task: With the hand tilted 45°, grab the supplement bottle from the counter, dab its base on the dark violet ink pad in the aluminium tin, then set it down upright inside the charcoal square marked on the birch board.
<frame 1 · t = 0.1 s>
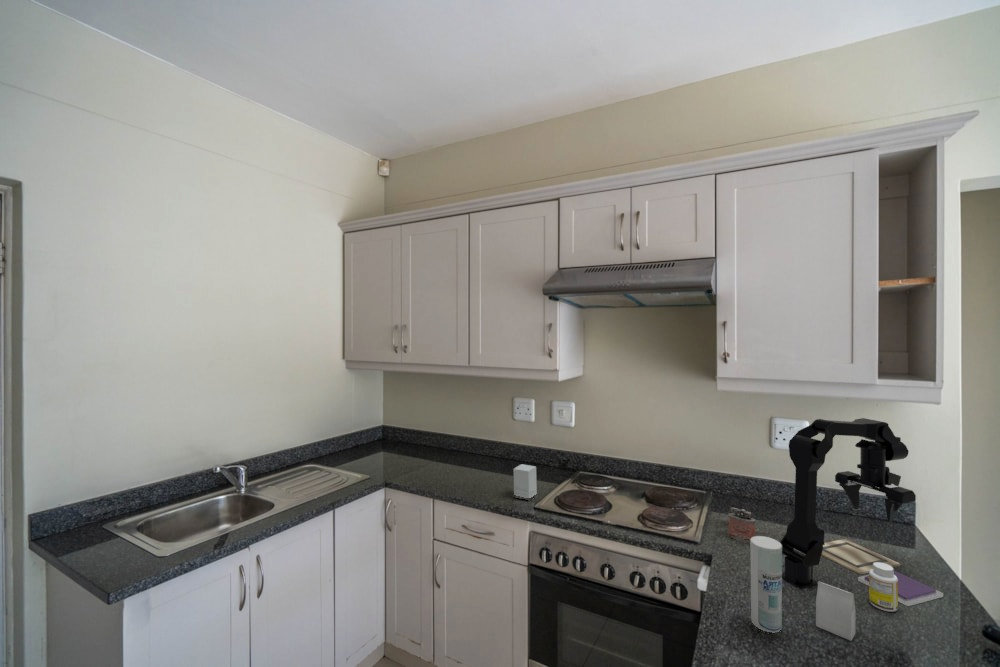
hand: (872, 514, 133), 15 cm above the worktop, tool pointing down, fingers open, 9 cm apart
lighter: (741, 539, 150), on the worktop
supplement box: (525, 497, 189), on the worktop
spray can: (766, 626, 108), on the worktop
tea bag: (835, 630, 106), on the worktop
supplement bottle: (883, 606, 114), on the worktop
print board: (851, 556, 138), on the worktop
ink pad: (899, 588, 121), on the worktop
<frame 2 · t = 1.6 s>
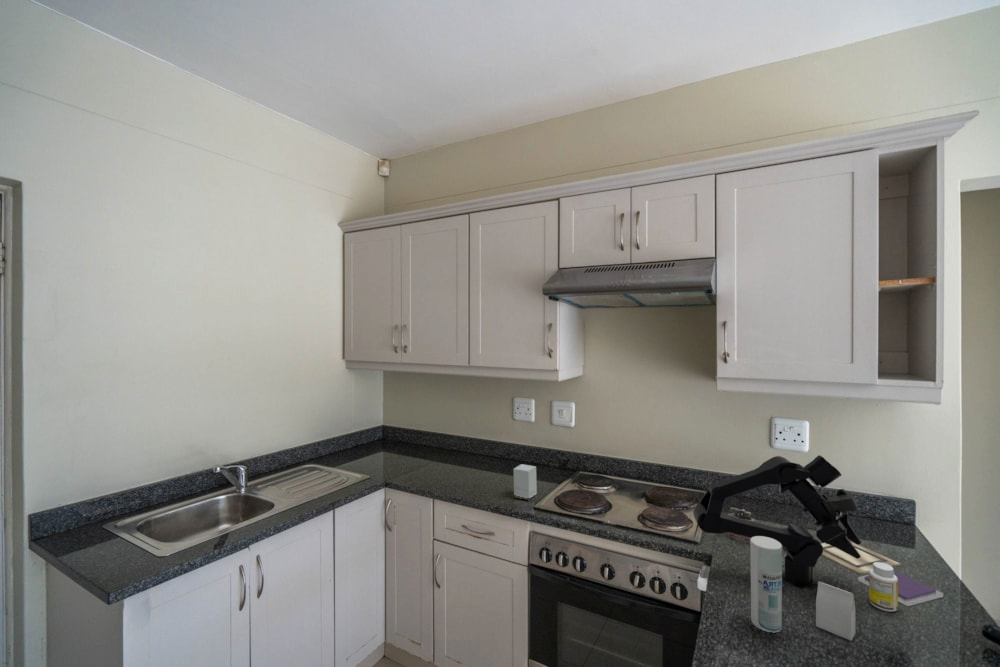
hand: (859, 550, 117), 12 cm above the worktop, tool tilted 45°, fingers open, 9 cm apart
nothing on the worktop moved.
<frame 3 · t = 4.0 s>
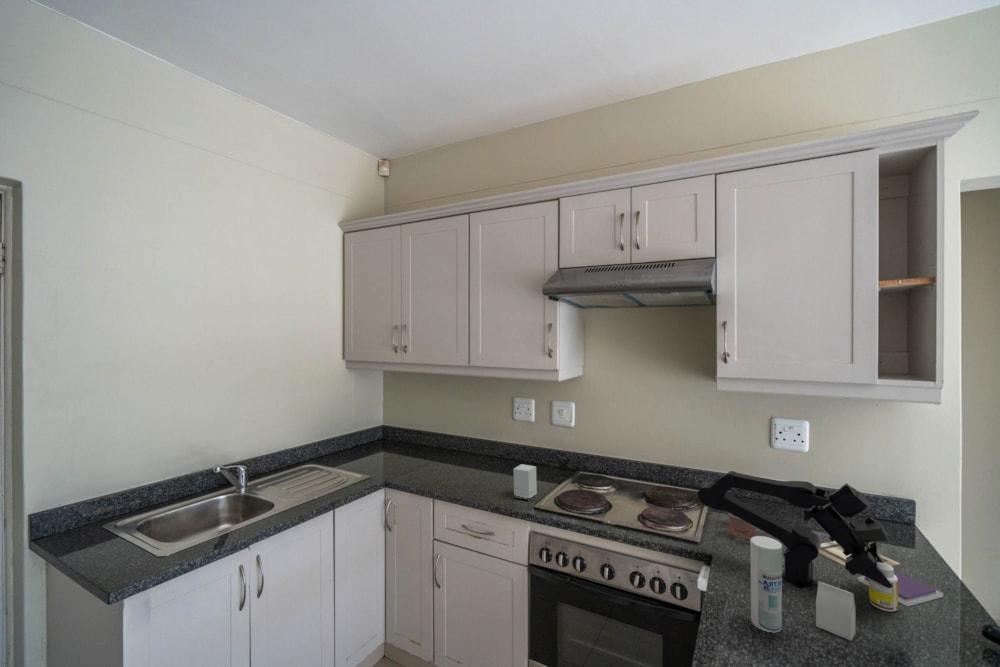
hand: (890, 582, 113), 7 cm above the worktop, tool tilted 45°, fingers closed on supplement bottle, 6 cm apart
supplement bottle: (883, 606, 114), on the worktop, touching gripper
everything else where it was.
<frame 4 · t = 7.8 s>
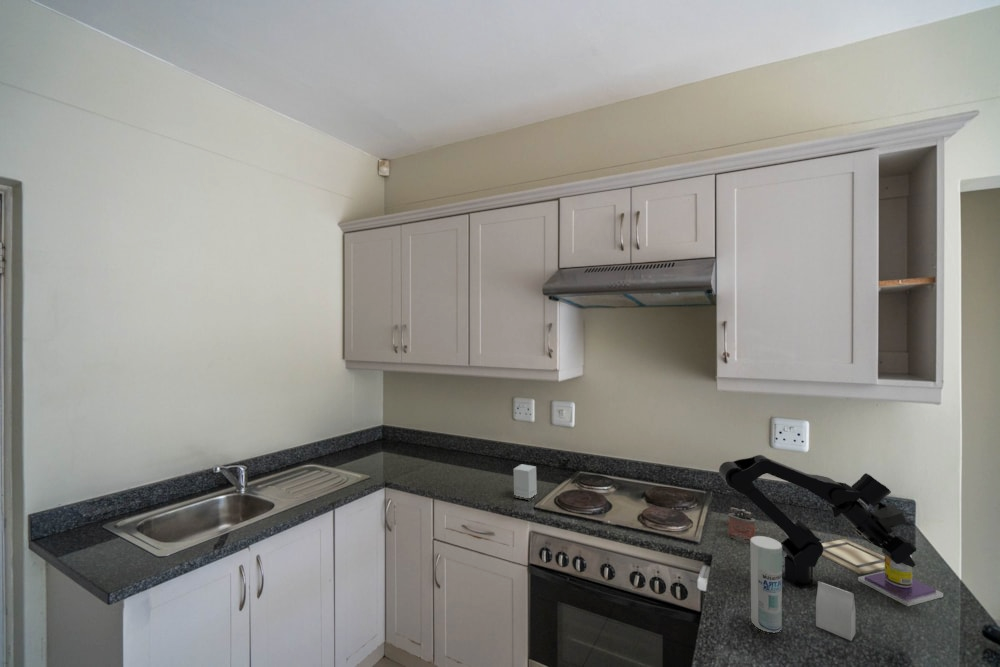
hand: (906, 560, 121), 8 cm above the worktop, tool tilted 45°, fingers closed on supplement bottle, 6 cm apart
supplement bottle: (898, 583, 121), point 1 cm above the worktop, touching gripper, ink pad
everything else where it was.
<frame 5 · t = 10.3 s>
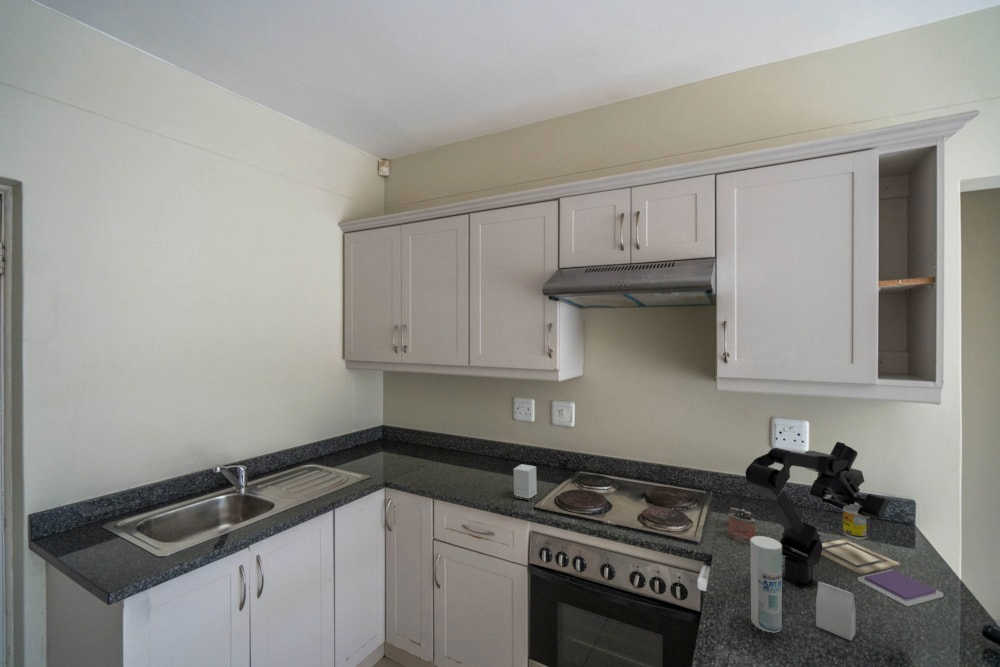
hand: (857, 513, 137), 13 cm above the worktop, tool tilted 45°, fingers closed on supplement bottle, 5 cm apart
supplement bottle: (854, 536, 137), point 7 cm above the worktop, touching gripper
everything else where it was.
when the fingers open (8 cm above the worktop, at t = 12.1 s): supplement bottle stays where it is, resting on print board.
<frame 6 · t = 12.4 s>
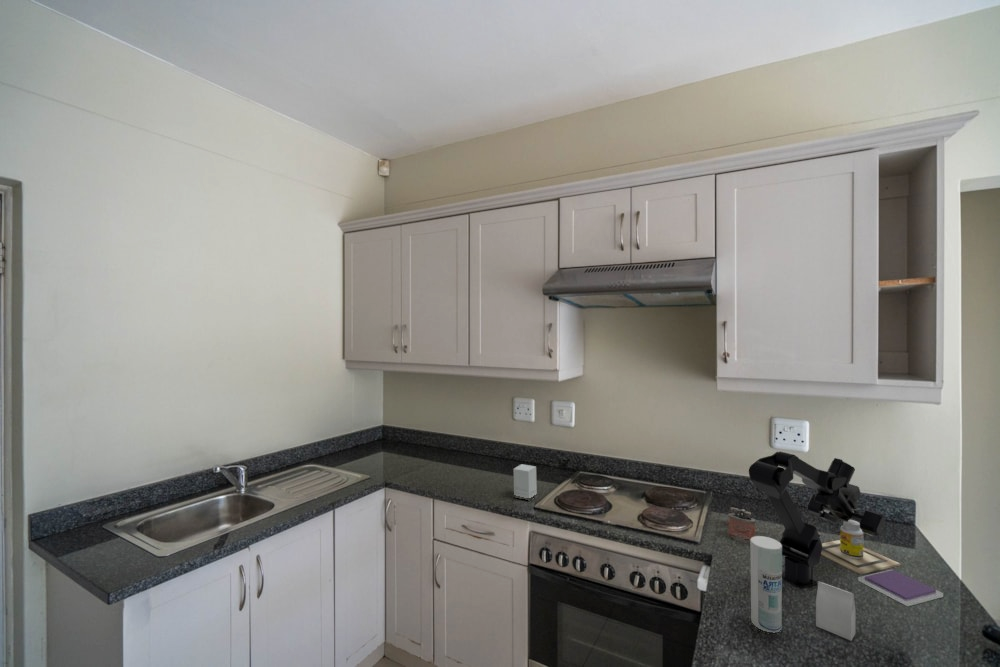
hand: (854, 528, 139), 8 cm above the worktop, tool tilted 45°, fingers open, 9 cm apart
supplement bottle: (851, 555, 138), resting on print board
everything else where it was.
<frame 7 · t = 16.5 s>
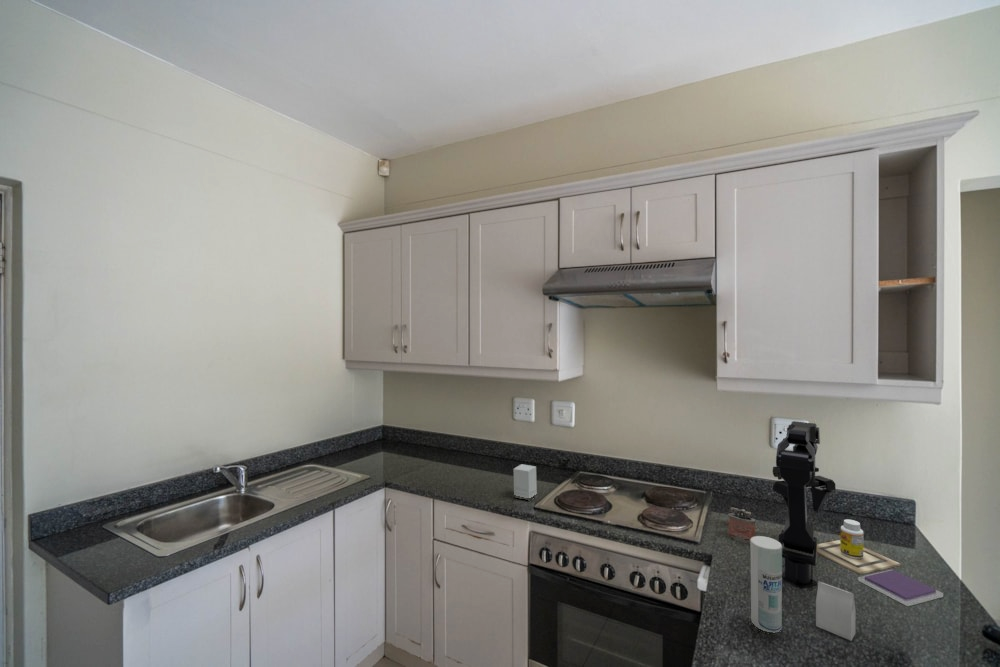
hand: (804, 513, 139), 13 cm above the worktop, tool pointing down, fingers open, 9 cm apart
nothing on the worktop moved.
at the end: supplement bottle 0.6 cm off-centre on the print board, point 0.4 cm above the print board's base; supplement bottle tilted 0°; the gripper is holding nothing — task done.
